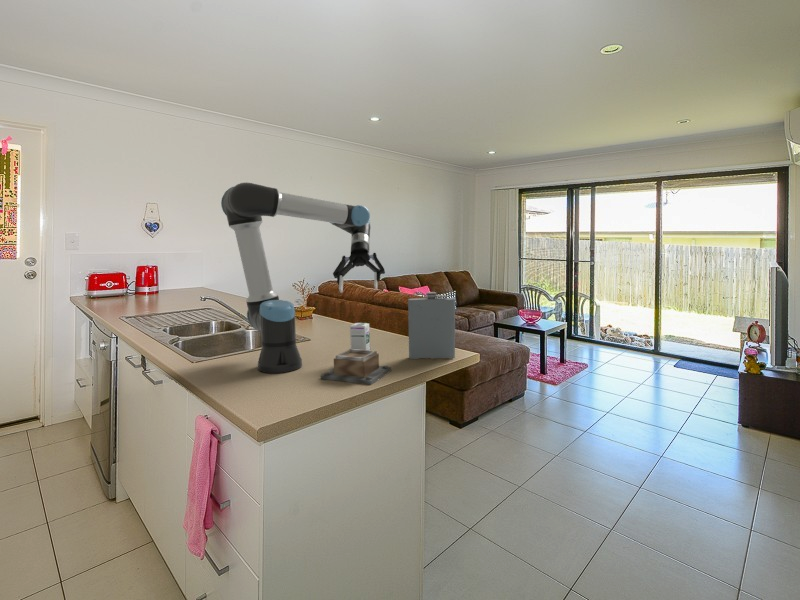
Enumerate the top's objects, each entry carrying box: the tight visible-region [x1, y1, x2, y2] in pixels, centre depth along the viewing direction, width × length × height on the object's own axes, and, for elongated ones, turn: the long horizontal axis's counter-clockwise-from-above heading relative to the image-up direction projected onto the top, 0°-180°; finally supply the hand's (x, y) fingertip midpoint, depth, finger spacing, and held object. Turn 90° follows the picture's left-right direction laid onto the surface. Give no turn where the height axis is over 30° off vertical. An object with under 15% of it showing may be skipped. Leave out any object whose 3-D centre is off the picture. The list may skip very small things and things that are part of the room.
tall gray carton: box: [407, 291, 456, 360], centre depth 161 cm, size 17×5×25 cm, turn 88°
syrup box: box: [349, 322, 371, 350], centre depth 154 cm, size 6×6×14 cm
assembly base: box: [320, 348, 392, 385], centre depth 141 cm, size 18×16×7 cm
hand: (358, 289), depth 162 cm, fingers open, 13 cm apart
